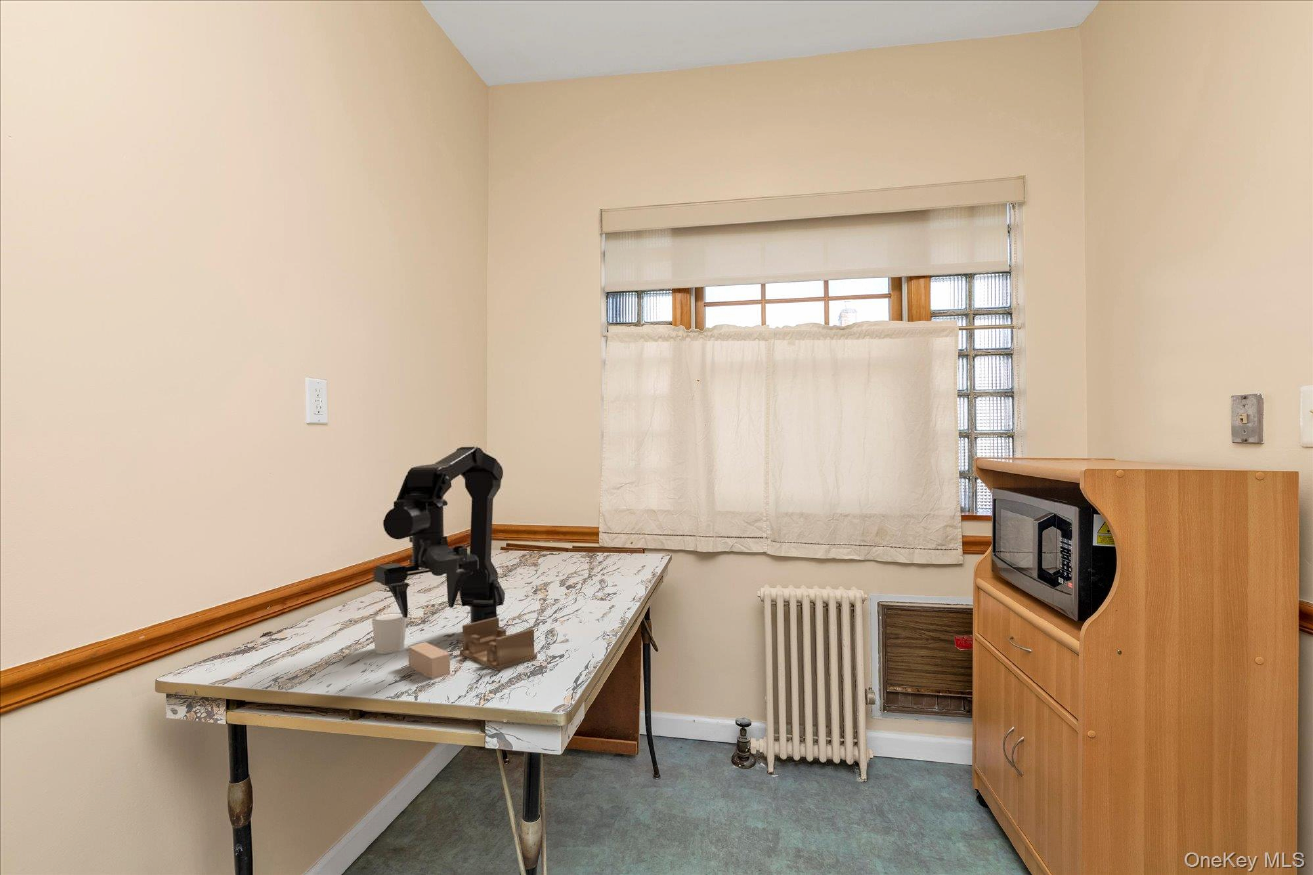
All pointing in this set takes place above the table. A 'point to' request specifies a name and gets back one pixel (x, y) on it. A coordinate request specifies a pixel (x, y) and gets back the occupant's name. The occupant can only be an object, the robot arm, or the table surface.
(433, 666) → the tan rectangular block
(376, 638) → the white tapered cup
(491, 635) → the rack
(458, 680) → the table surface
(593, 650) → the table surface
